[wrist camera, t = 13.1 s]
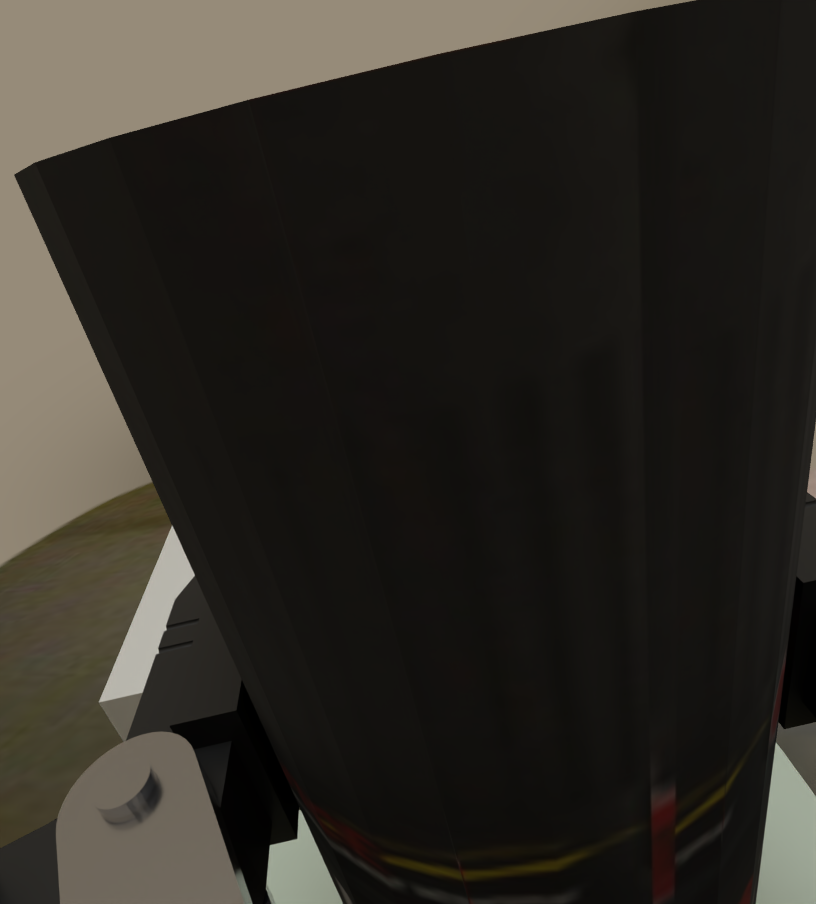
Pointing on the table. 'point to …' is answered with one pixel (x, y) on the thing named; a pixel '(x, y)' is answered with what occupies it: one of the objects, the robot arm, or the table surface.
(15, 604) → the table surface
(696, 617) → the deodorant
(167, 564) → the socket block
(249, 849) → the robot arm
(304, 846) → the mat
